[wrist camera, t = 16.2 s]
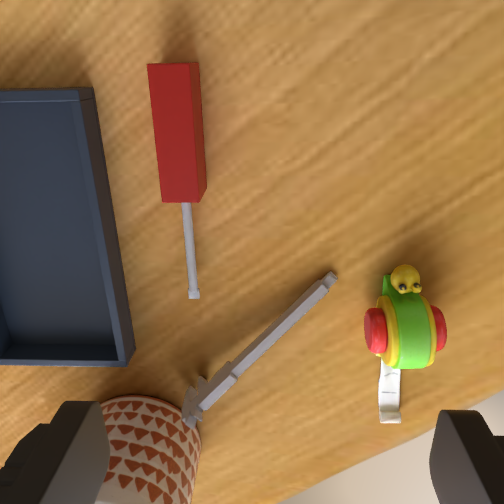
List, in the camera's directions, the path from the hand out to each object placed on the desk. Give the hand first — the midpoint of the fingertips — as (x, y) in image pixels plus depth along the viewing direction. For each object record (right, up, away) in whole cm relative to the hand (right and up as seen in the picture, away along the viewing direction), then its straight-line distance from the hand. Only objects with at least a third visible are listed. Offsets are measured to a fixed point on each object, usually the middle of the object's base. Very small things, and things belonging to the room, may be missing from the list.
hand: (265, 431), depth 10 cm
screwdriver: (-6, +10, +27) cm, 29 cm away
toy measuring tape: (+14, -5, +33) cm, 36 cm away
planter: (-13, -17, +40) cm, 45 cm away
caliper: (0, -4, +33) cm, 33 cm away
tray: (-19, +6, +29) cm, 36 cm away
